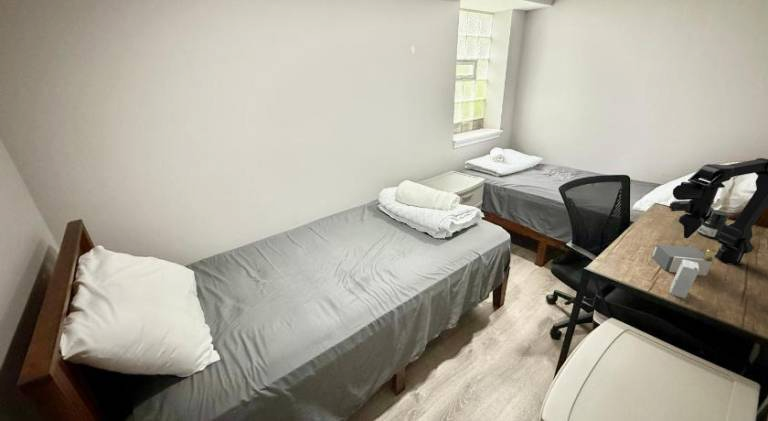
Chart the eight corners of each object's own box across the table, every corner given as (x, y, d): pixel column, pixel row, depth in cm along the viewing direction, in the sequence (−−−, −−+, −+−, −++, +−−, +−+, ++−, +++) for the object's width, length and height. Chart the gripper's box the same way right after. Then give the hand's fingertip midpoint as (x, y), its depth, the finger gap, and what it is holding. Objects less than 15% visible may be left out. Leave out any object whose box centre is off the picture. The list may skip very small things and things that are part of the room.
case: (690, 261, 130) (696, 247, 128) (706, 274, 121) (713, 260, 119) (651, 257, 133) (656, 244, 131) (664, 270, 124) (670, 256, 122)
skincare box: (669, 286, 115) (681, 258, 111) (686, 290, 113) (698, 262, 108) (669, 294, 111) (681, 265, 106) (686, 299, 108) (699, 270, 104)
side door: (703, 273, 122) (714, 249, 117) (707, 276, 120) (718, 252, 115) (667, 269, 125) (676, 246, 120) (670, 273, 122) (680, 249, 118)
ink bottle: (691, 230, 155) (700, 208, 151) (710, 230, 155) (720, 208, 150) (708, 239, 147) (718, 216, 142) (728, 240, 146) (739, 217, 141)
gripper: (683, 187, 129) (671, 221, 135) (668, 198, 120) (655, 234, 126) (720, 194, 121) (706, 230, 127) (707, 206, 111) (692, 244, 117)
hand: (689, 234), depth 125 cm, fingers open, 9 cm apart
